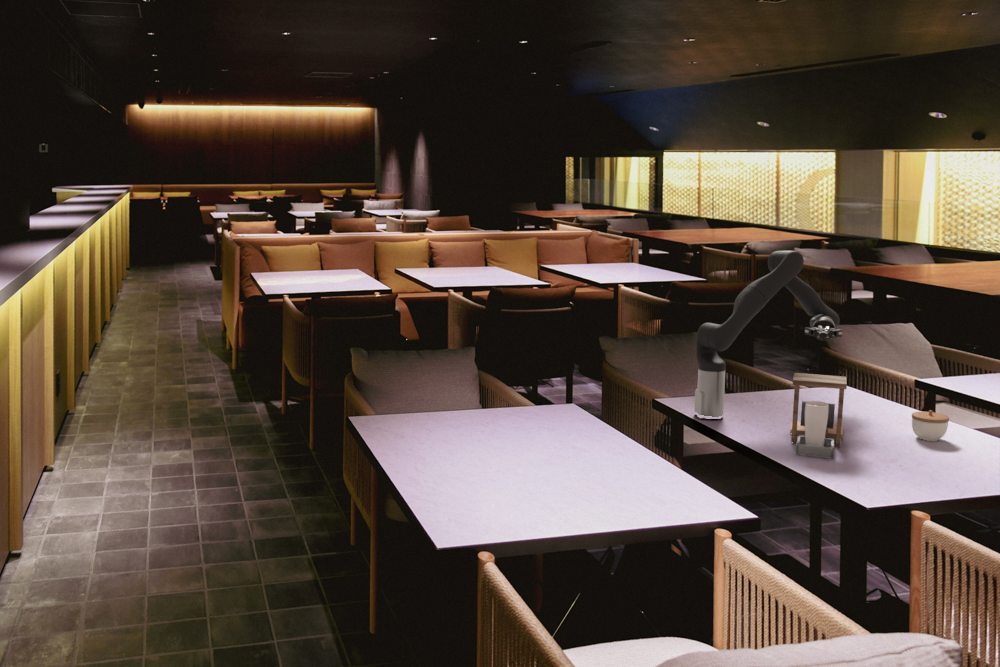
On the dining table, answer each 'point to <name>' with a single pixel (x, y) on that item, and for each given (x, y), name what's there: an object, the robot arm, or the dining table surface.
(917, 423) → the lidded jar
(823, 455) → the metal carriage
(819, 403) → the drinking glass
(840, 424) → the walnut tunnel
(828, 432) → the board
